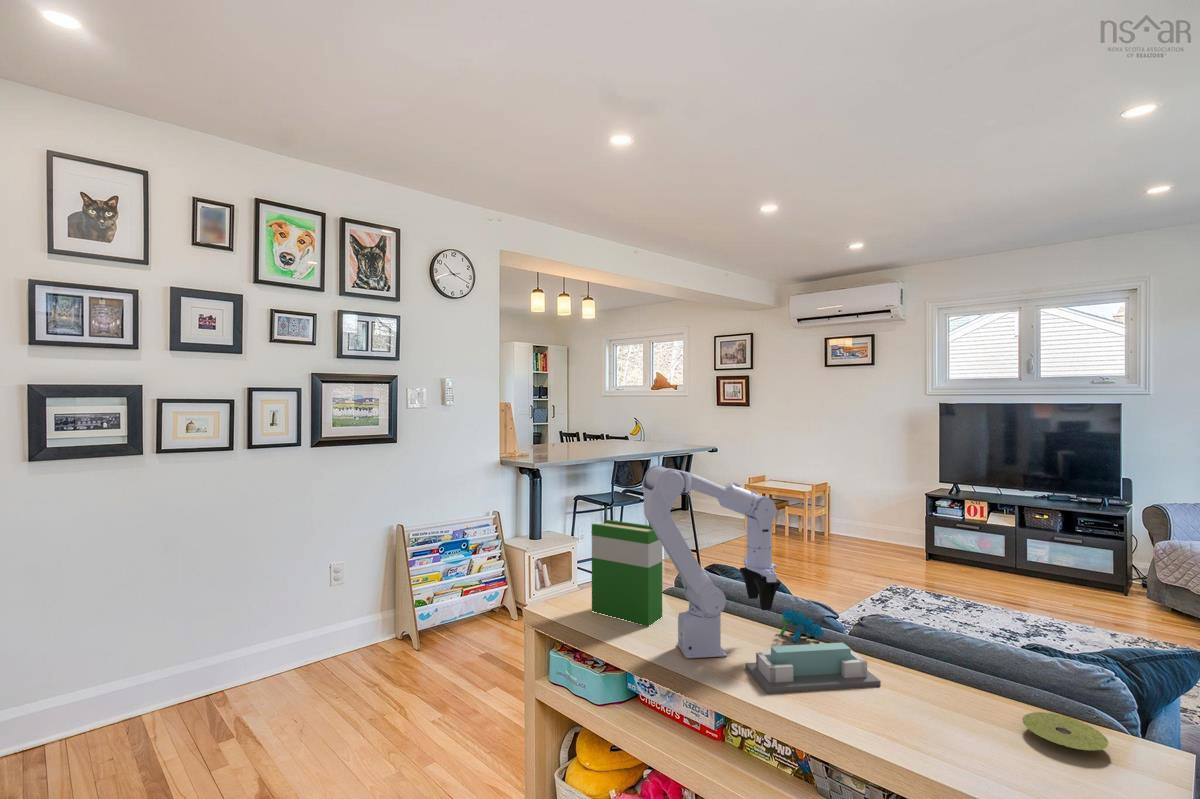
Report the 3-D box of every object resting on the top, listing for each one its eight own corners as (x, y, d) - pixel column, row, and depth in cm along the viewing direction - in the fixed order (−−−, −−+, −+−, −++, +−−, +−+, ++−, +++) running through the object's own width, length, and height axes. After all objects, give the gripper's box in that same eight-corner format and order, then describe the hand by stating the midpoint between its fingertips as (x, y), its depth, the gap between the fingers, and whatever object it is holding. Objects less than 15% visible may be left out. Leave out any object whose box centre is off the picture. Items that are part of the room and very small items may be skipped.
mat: (1111, 741, 96) (1111, 729, 96) (1105, 771, 88) (1105, 758, 88) (1028, 715, 104) (1028, 704, 104) (1016, 741, 96) (1016, 729, 96)
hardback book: (591, 612, 156) (591, 524, 156) (606, 604, 162) (606, 519, 162) (648, 627, 146) (648, 532, 146) (662, 618, 152) (662, 527, 152)
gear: (833, 636, 136) (809, 611, 133) (823, 658, 133) (798, 633, 131) (797, 627, 145) (773, 603, 143) (787, 647, 143) (763, 623, 140)
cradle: (766, 693, 112) (766, 672, 112) (745, 667, 123) (745, 649, 123) (880, 685, 115) (880, 665, 115) (850, 661, 126) (849, 643, 126)
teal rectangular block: (777, 677, 117) (777, 652, 117) (770, 670, 120) (770, 646, 120) (850, 672, 119) (850, 648, 119) (842, 666, 122) (842, 642, 122)
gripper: (789, 553, 129) (789, 614, 129) (762, 538, 144) (763, 592, 143) (759, 554, 128) (759, 615, 128) (735, 539, 143) (735, 594, 143)
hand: (759, 603), depth 136 cm, fingers open, 7 cm apart
